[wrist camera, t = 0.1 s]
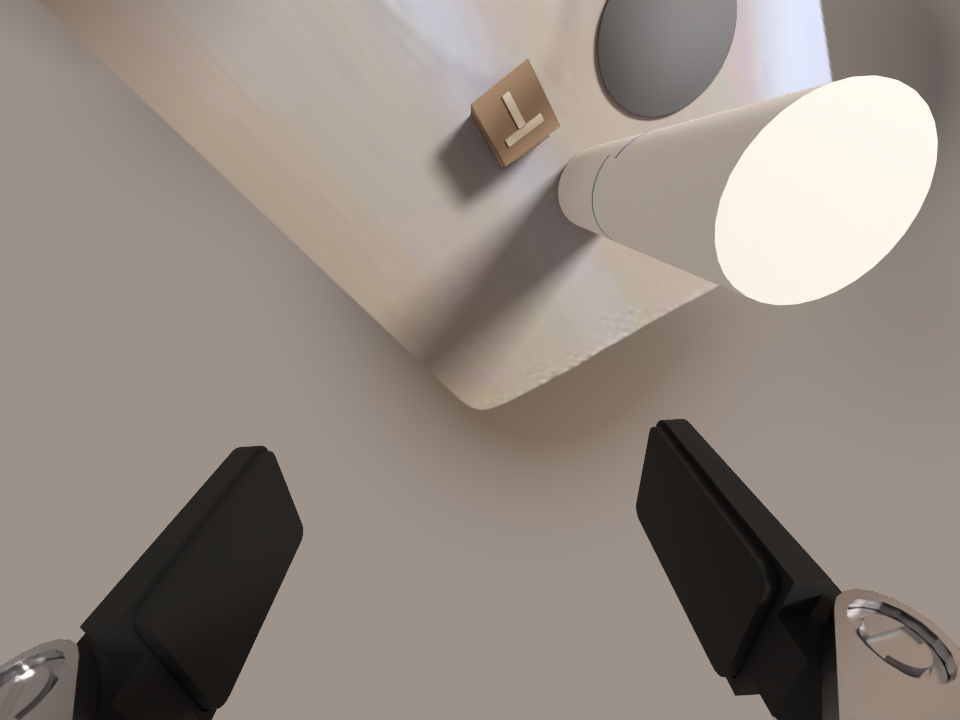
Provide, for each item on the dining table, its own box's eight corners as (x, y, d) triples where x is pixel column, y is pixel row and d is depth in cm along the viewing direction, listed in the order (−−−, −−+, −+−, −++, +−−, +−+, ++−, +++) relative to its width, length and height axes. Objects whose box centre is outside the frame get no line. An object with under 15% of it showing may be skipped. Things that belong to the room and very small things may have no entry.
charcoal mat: (602, -49, 28) (603, -52, 27) (748, -64, 28) (751, -67, 27) (594, 122, 33) (595, 121, 32) (718, 110, 32) (720, 110, 32)
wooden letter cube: (470, 114, 32) (471, 103, 28) (519, 75, 31) (528, 57, 26) (501, 169, 34) (507, 168, 29) (548, 134, 33) (561, 127, 28)
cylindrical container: (646, 191, 35) (959, 212, 13) (585, 243, 37) (763, 340, 15) (605, 126, 33) (904, 9, 10) (542, 185, 35) (678, 196, 12)
